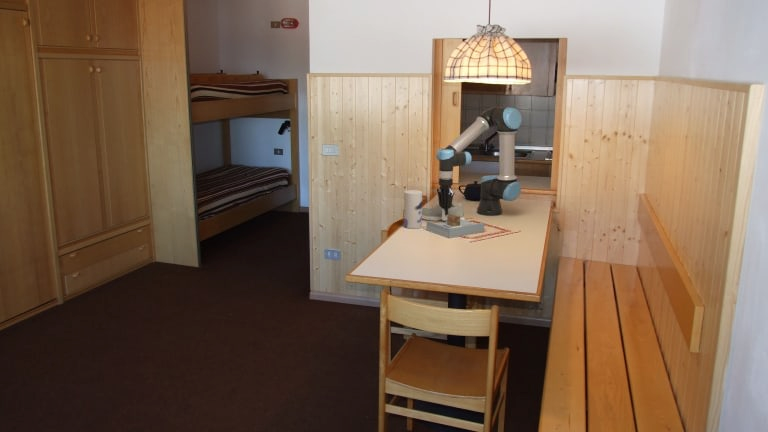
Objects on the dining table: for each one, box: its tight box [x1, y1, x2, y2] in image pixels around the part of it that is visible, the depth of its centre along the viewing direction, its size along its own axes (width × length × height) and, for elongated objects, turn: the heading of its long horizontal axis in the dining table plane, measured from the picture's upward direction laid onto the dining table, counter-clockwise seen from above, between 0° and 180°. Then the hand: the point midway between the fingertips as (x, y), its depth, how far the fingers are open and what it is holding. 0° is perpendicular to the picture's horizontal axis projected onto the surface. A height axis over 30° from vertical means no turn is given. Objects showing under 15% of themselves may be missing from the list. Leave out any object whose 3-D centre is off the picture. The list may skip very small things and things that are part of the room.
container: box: [403, 189, 423, 229], centre depth 367 cm, size 10×10×20 cm
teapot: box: [458, 180, 481, 202], centre depth 439 cm, size 25×16×12 cm, turn 67°
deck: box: [426, 219, 485, 239], centre depth 360 cm, size 24×20×5 cm
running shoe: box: [422, 201, 466, 222], centre depth 383 cm, size 11×30×14 cm, turn 64°
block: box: [447, 215, 460, 227], centre depth 361 cm, size 5×5×5 cm
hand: (444, 219), depth 366 cm, fingers closed
